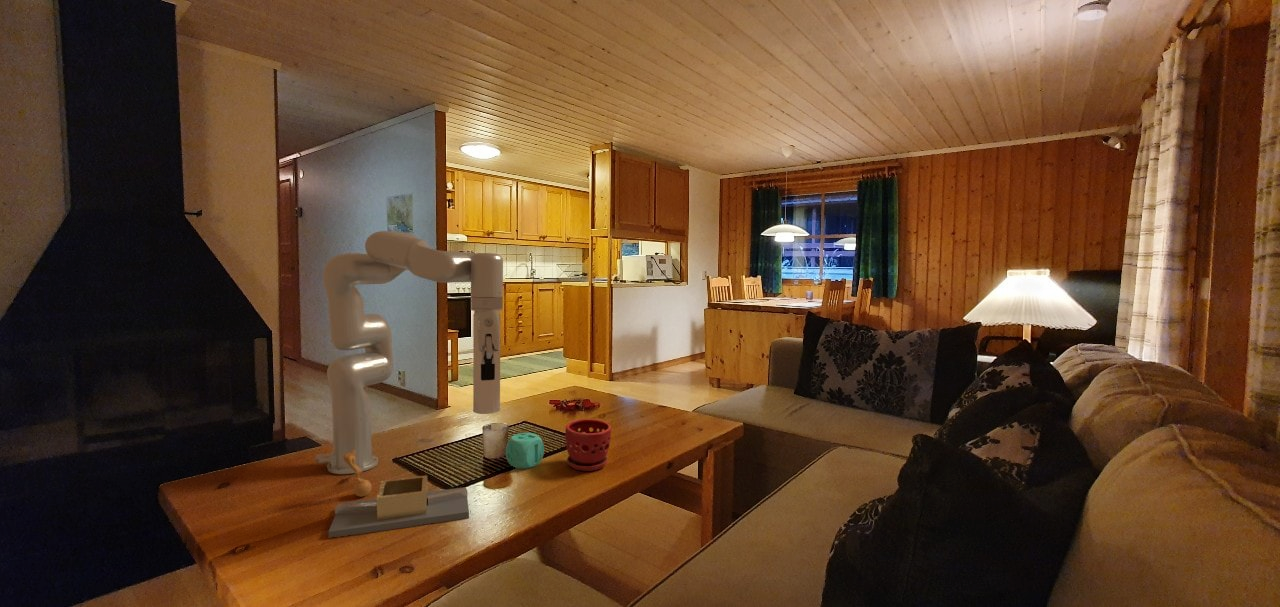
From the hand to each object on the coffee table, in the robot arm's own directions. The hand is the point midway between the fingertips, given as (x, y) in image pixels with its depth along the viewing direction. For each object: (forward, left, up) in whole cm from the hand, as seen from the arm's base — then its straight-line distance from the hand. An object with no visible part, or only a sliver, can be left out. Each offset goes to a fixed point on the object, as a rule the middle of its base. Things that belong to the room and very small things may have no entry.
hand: (486, 376), depth 130 cm
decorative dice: (+12, +18, -31) cm, 37 cm away
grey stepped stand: (-19, -4, -29) cm, 35 cm away
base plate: (-19, -4, -30) cm, 36 cm away
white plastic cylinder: (0, 0, -9) cm, 9 cm away
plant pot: (+29, +11, -30) cm, 43 cm away
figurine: (-30, +9, -30) cm, 44 cm away
